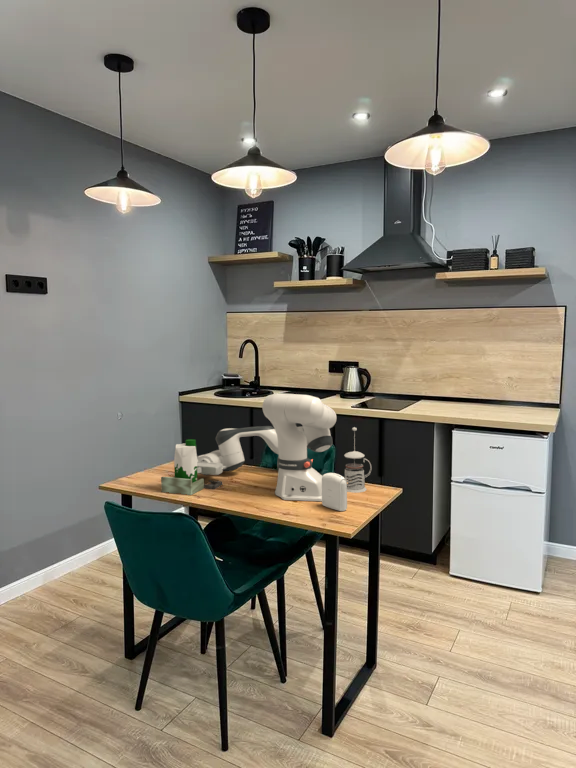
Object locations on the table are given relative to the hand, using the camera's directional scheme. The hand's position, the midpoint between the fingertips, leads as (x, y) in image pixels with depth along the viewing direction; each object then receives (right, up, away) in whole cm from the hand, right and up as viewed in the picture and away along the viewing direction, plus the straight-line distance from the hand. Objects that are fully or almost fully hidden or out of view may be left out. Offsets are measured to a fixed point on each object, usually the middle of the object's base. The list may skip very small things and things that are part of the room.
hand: (190, 472), depth 218 cm
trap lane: (-1, -6, -2) cm, 7 cm away
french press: (+68, -6, -6) cm, 68 cm away
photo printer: (+57, -8, -30) cm, 65 cm away
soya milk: (-1, -6, -4) cm, 8 cm away
